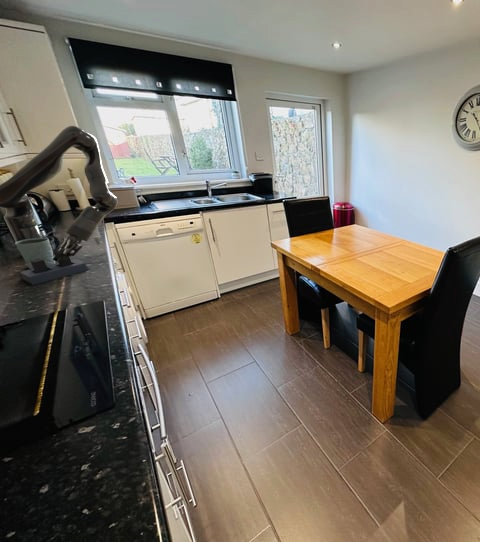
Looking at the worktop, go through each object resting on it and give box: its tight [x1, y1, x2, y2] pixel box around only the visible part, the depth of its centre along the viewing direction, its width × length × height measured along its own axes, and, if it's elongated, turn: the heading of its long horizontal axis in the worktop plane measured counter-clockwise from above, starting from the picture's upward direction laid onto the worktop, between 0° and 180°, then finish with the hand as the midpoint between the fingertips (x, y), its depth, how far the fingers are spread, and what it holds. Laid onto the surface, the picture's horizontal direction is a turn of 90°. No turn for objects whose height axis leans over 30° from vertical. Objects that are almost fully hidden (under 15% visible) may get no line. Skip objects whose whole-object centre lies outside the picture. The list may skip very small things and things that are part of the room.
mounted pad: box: [30, 258, 48, 273], centre depth 117 cm, size 4×3×8 cm
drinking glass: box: [14, 237, 56, 270], centre depth 128 cm, size 10×10×12 cm
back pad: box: [53, 250, 72, 267], centre depth 122 cm, size 4×3×8 cm
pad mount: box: [19, 258, 89, 286], centre depth 121 cm, size 10×18×4 cm, turn 153°
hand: (58, 261), depth 121 cm, fingers closed on back pad, 4 cm apart
